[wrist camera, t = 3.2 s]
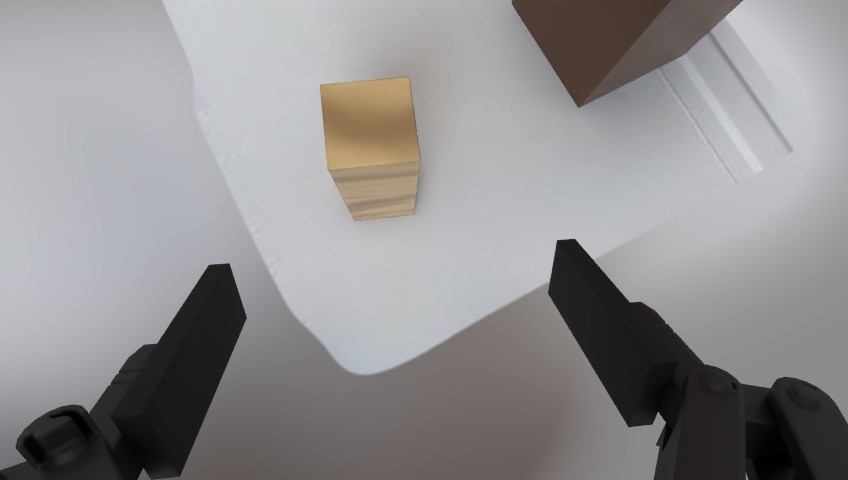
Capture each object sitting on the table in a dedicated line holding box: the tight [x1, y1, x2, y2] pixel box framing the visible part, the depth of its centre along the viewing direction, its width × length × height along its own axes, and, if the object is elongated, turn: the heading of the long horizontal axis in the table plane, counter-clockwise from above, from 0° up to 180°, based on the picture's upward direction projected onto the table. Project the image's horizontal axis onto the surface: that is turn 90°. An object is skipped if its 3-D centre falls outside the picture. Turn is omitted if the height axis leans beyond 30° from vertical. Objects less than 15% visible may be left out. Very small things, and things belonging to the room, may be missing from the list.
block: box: [320, 77, 420, 221], centre depth 28 cm, size 5×5×12 cm
